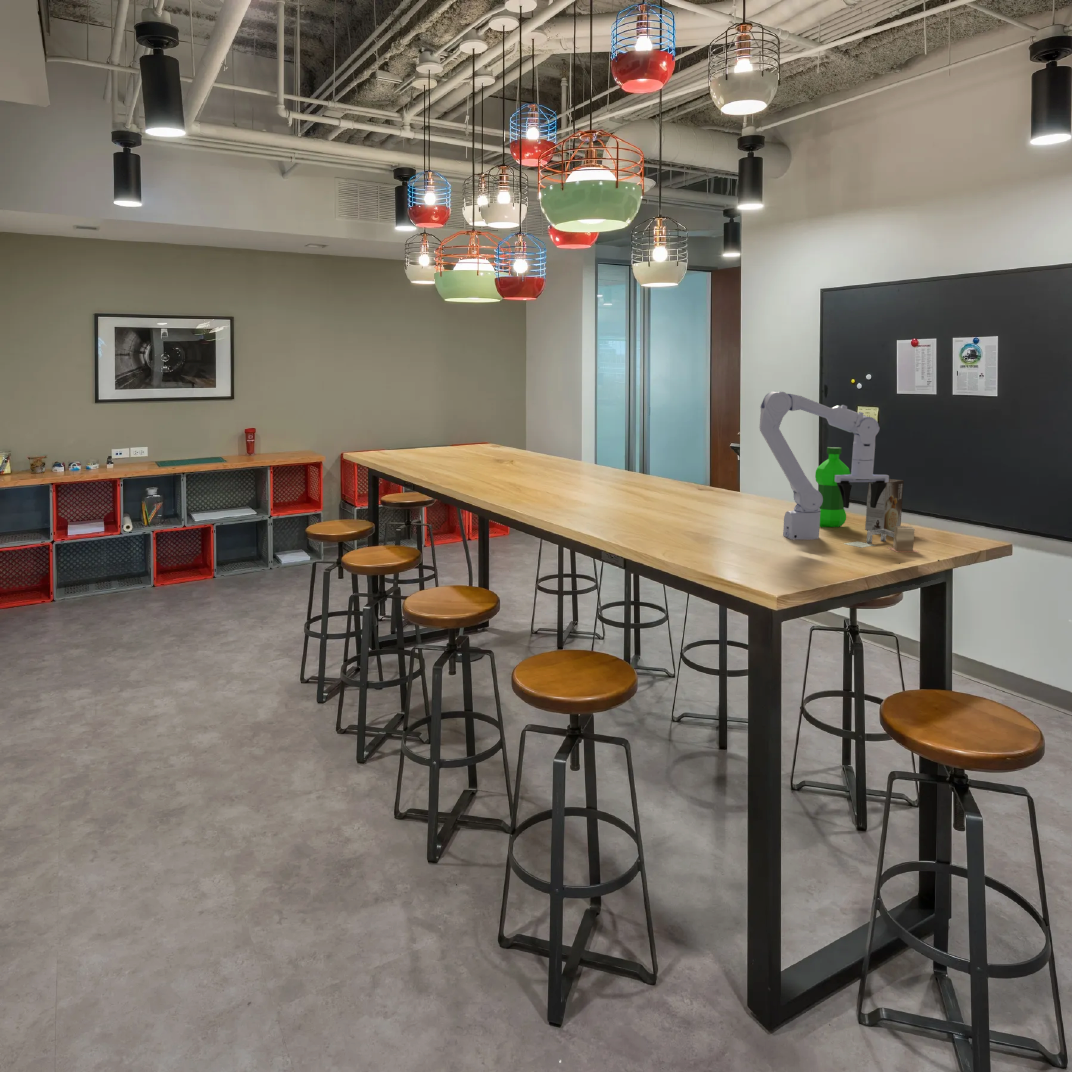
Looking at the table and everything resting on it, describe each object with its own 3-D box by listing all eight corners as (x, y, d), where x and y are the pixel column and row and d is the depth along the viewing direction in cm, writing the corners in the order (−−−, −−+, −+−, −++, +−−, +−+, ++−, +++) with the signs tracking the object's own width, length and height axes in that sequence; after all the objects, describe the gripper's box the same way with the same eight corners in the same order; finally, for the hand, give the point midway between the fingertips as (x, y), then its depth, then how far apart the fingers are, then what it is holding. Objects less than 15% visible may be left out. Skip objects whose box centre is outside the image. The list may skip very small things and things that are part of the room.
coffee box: (880, 530, 251) (885, 478, 248) (900, 533, 246) (905, 480, 243) (863, 533, 245) (867, 480, 242) (883, 536, 240) (887, 482, 237)
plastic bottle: (851, 531, 249) (857, 449, 244) (817, 531, 249) (822, 449, 245) (840, 525, 259) (845, 446, 254) (807, 525, 259) (811, 446, 254)
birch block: (912, 551, 214) (914, 529, 212) (896, 550, 214) (898, 528, 213) (909, 548, 217) (911, 526, 216) (893, 547, 218) (895, 525, 217)
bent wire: (878, 548, 219) (879, 535, 218) (861, 541, 228) (862, 529, 227) (902, 547, 219) (903, 534, 219) (884, 540, 229) (885, 528, 228)
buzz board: (865, 558, 212) (866, 553, 211) (833, 543, 230) (833, 539, 229) (924, 556, 213) (924, 552, 213) (887, 542, 231) (887, 538, 231)
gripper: (882, 458, 232) (879, 505, 235) (831, 458, 232) (828, 505, 234) (893, 460, 225) (889, 509, 228) (841, 460, 225) (838, 509, 227)
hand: (859, 507), depth 231 cm, fingers open, 7 cm apart
